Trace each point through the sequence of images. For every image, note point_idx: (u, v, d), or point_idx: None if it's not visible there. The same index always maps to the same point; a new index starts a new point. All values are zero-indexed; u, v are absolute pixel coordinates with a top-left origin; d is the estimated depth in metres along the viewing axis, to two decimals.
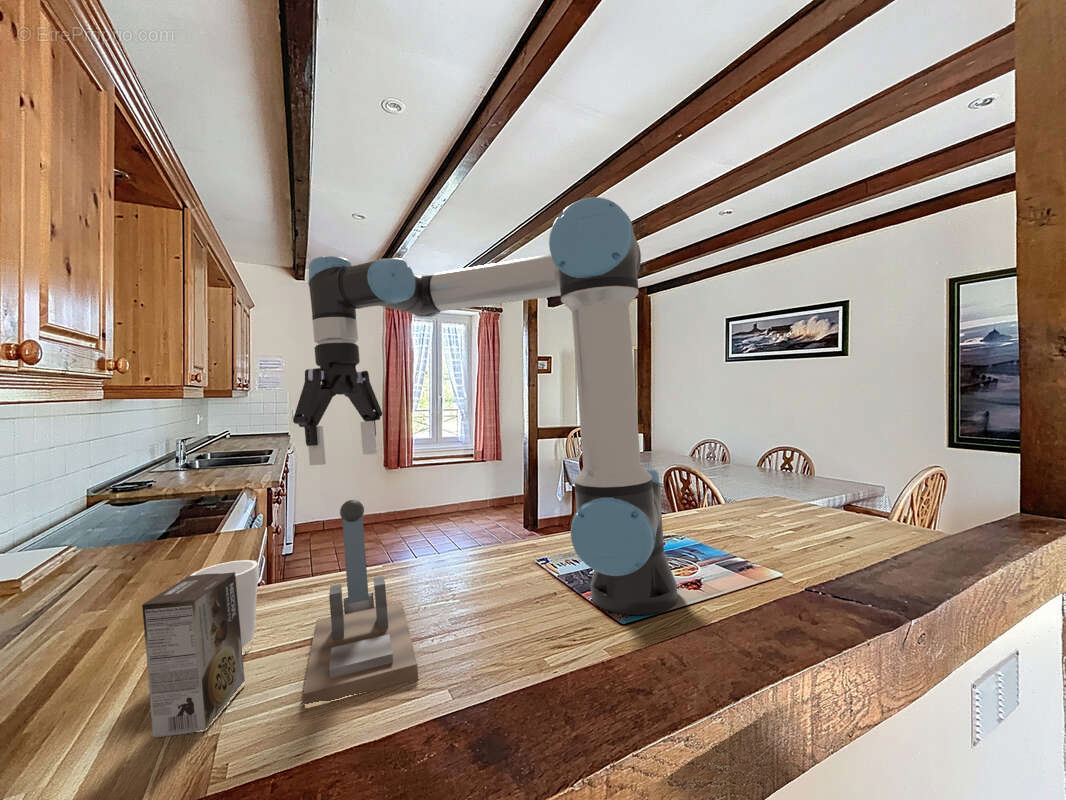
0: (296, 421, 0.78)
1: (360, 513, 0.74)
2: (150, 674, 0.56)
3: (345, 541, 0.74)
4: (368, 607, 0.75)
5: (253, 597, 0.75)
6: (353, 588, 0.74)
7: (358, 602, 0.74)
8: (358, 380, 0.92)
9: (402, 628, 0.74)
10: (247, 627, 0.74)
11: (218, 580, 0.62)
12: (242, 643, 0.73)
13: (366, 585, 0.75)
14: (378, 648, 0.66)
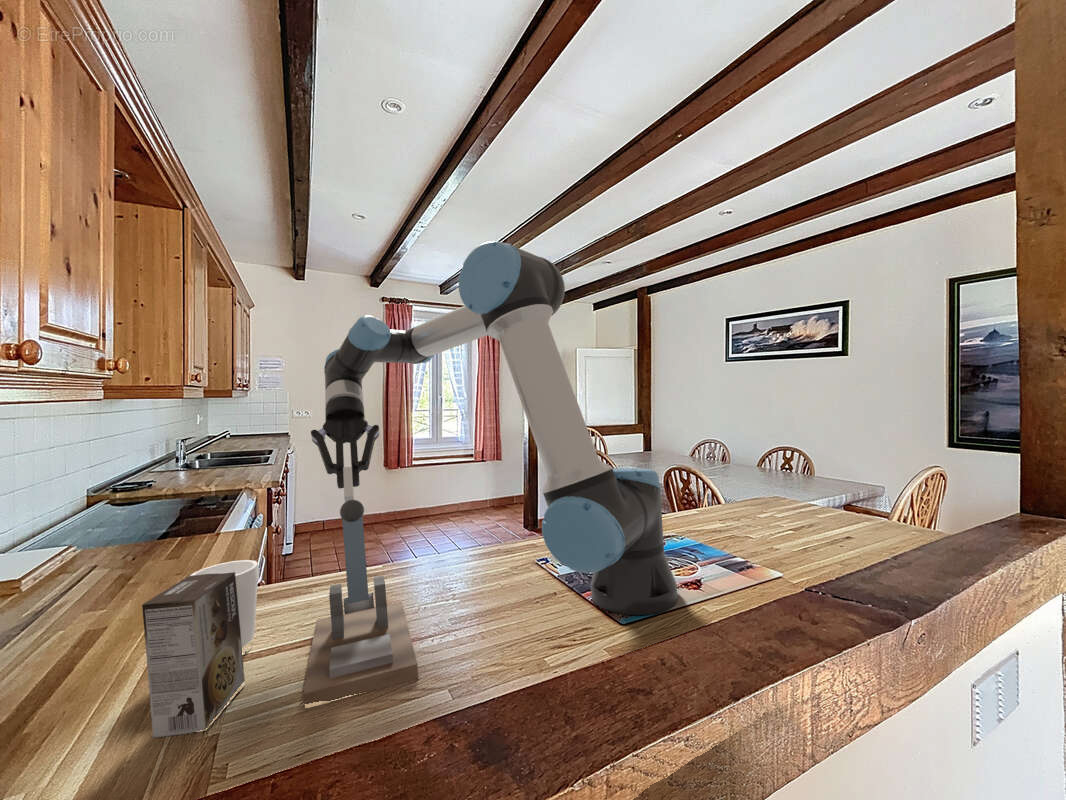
0: (327, 471, 0.88)
1: (360, 513, 0.74)
2: (149, 674, 0.56)
3: (345, 541, 0.74)
4: (368, 607, 0.75)
5: (253, 597, 0.75)
6: (353, 588, 0.74)
7: (358, 602, 0.74)
8: None
9: (402, 628, 0.74)
10: (247, 627, 0.74)
11: (218, 580, 0.62)
12: (242, 643, 0.73)
13: (366, 585, 0.75)
14: (378, 648, 0.66)
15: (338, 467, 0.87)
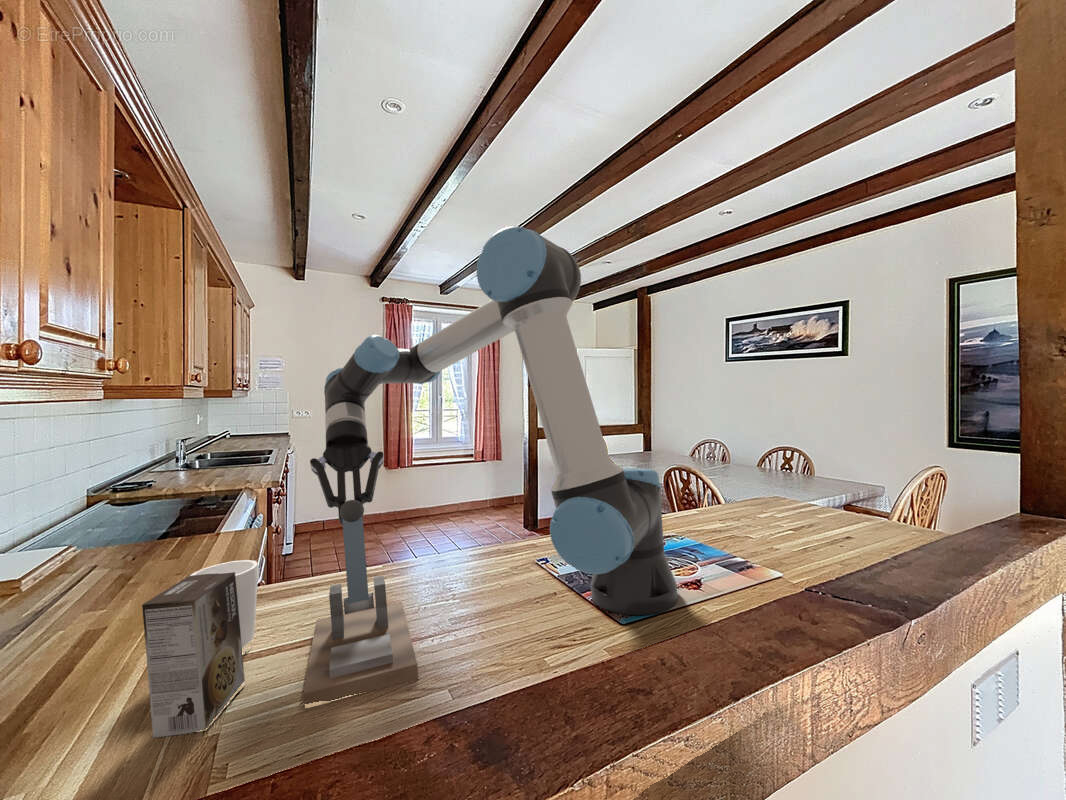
0: (327, 504, 0.81)
1: (360, 513, 0.74)
2: (149, 674, 0.56)
3: (345, 541, 0.74)
4: (368, 607, 0.75)
5: (253, 597, 0.75)
6: (353, 588, 0.74)
7: (358, 602, 0.74)
8: None
9: (402, 628, 0.74)
10: (247, 627, 0.74)
11: (218, 580, 0.62)
12: (242, 643, 0.73)
13: (366, 585, 0.75)
14: (378, 648, 0.66)
15: (340, 500, 0.80)
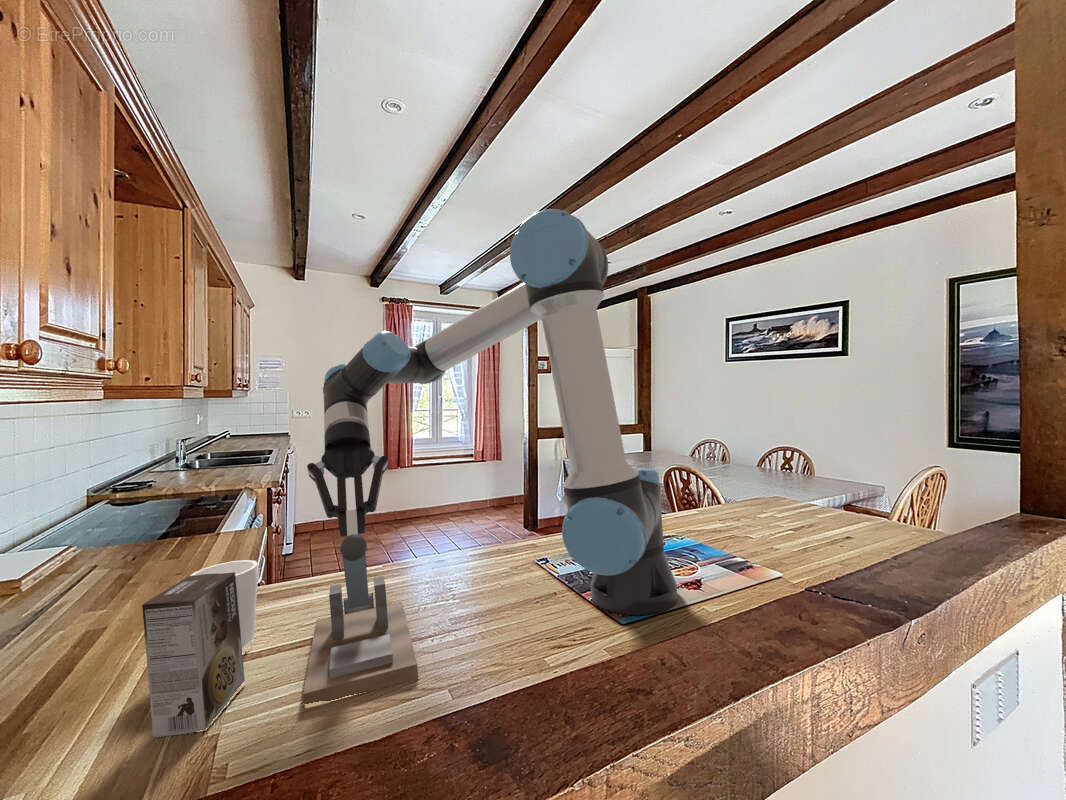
0: (326, 514, 0.73)
1: (362, 555, 0.66)
2: (149, 674, 0.56)
3: (346, 573, 0.68)
4: None
5: (253, 597, 0.75)
6: (354, 600, 0.73)
7: (358, 607, 0.74)
8: None
9: (402, 628, 0.74)
10: (247, 627, 0.74)
11: (218, 580, 0.62)
12: (242, 643, 0.73)
13: (367, 597, 0.73)
14: (378, 648, 0.66)
15: (340, 510, 0.73)
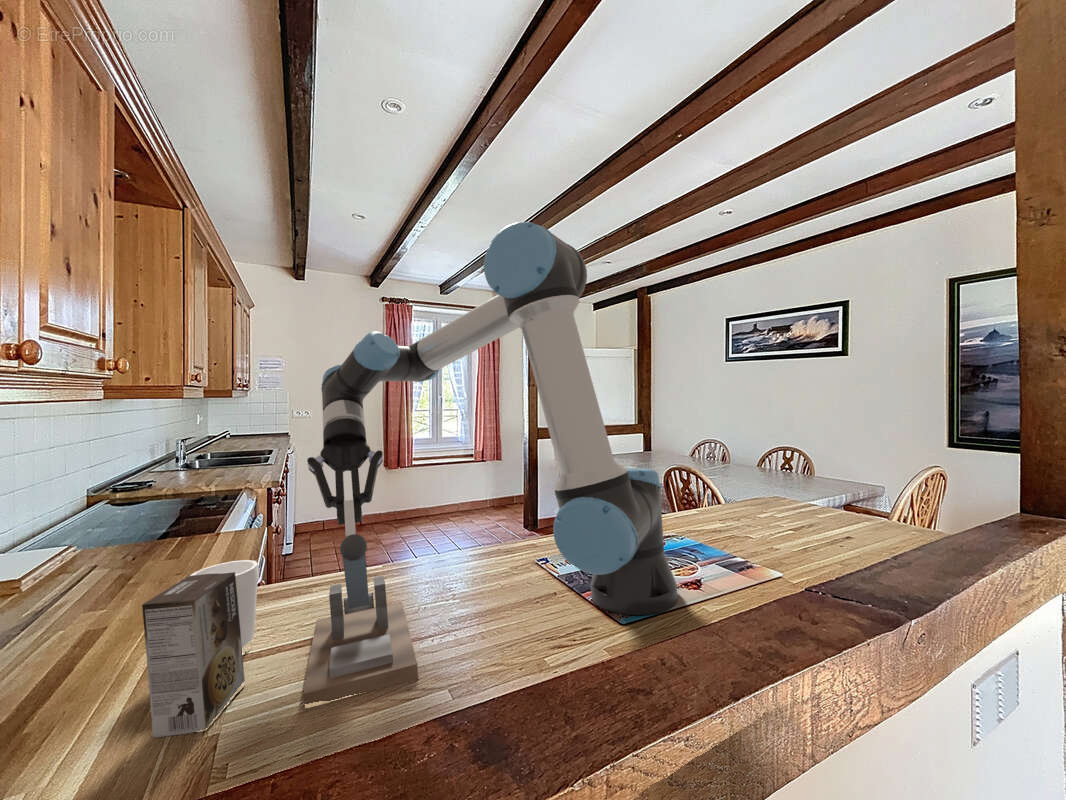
0: (325, 504, 0.79)
1: (362, 555, 0.66)
2: (149, 674, 0.56)
3: (346, 573, 0.68)
4: None
5: (253, 597, 0.75)
6: (354, 600, 0.73)
7: (358, 607, 0.74)
8: (369, 458, 0.87)
9: (402, 628, 0.74)
10: (247, 627, 0.74)
11: (218, 580, 0.62)
12: (242, 643, 0.73)
13: (367, 597, 0.73)
14: (378, 648, 0.66)
15: (338, 500, 0.78)
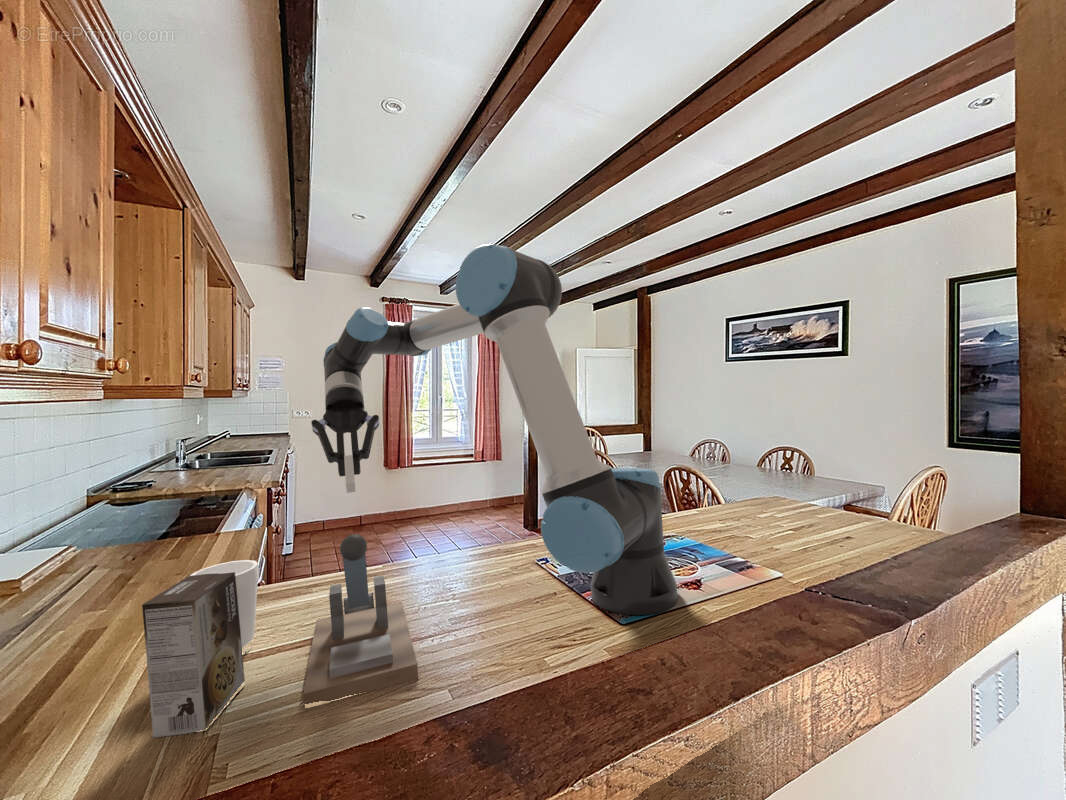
0: (328, 460, 0.89)
1: (362, 555, 0.66)
2: (149, 674, 0.56)
3: (346, 573, 0.68)
4: None
5: (253, 597, 0.75)
6: (354, 600, 0.73)
7: (358, 607, 0.74)
8: (366, 421, 0.97)
9: (402, 628, 0.74)
10: (247, 627, 0.74)
11: (218, 580, 0.62)
12: (242, 643, 0.73)
13: (367, 597, 0.73)
14: (378, 648, 0.66)
15: (339, 455, 0.88)
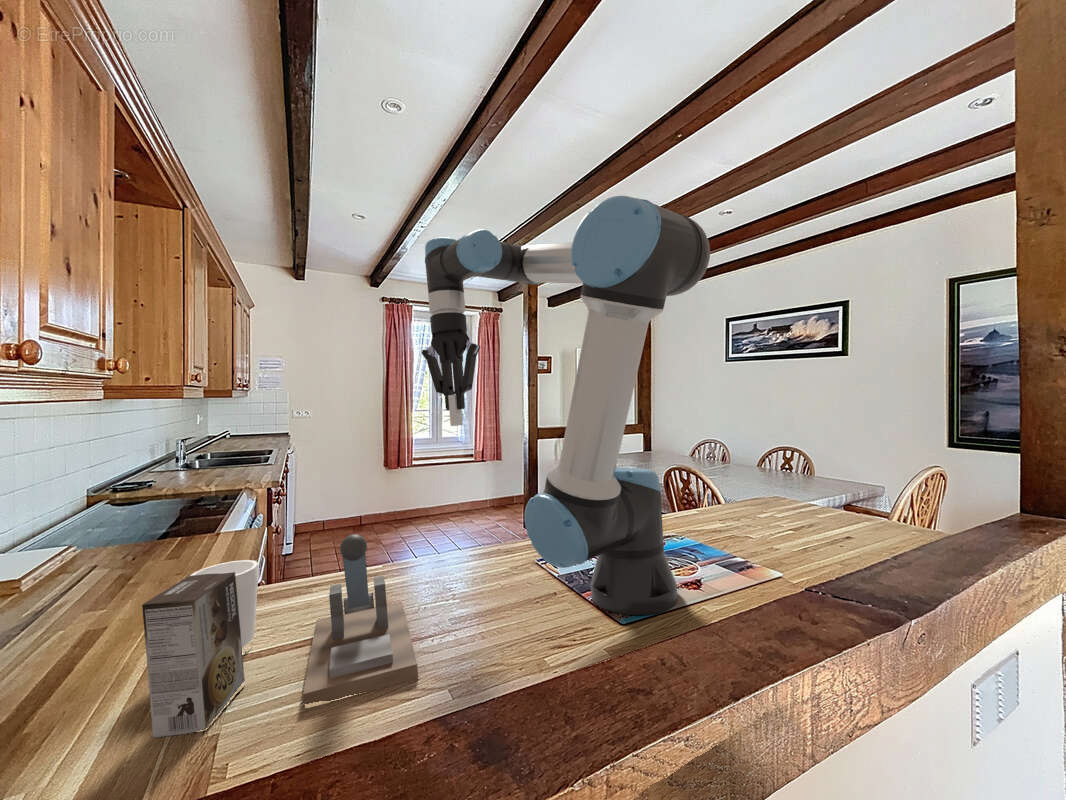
0: None
1: (362, 555, 0.66)
2: (150, 674, 0.56)
3: (346, 573, 0.68)
4: None
5: (254, 597, 0.75)
6: (354, 600, 0.73)
7: (358, 607, 0.74)
8: None
9: (402, 628, 0.74)
10: (247, 627, 0.74)
11: (218, 580, 0.62)
12: (242, 643, 0.73)
13: (367, 597, 0.73)
14: (378, 648, 0.66)
15: (445, 394, 0.99)
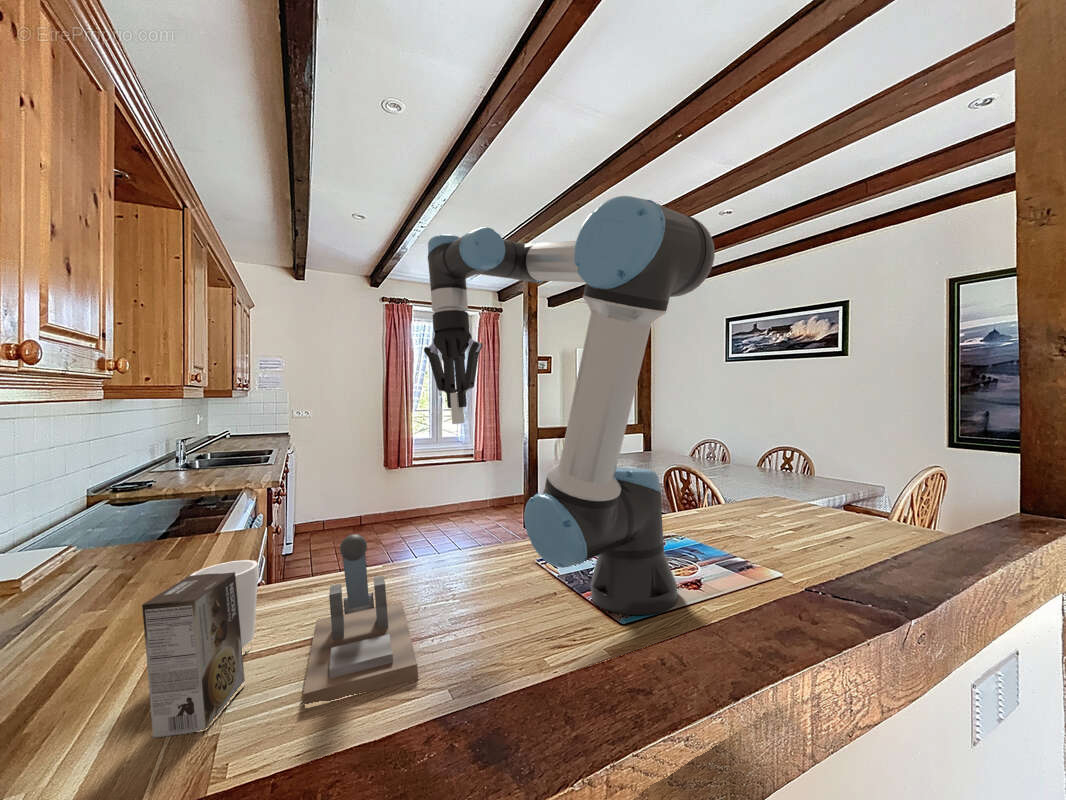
0: None
1: (362, 555, 0.66)
2: (150, 674, 0.56)
3: (346, 573, 0.68)
4: None
5: (253, 597, 0.75)
6: (354, 600, 0.73)
7: (358, 607, 0.74)
8: None
9: (402, 628, 0.74)
10: (247, 627, 0.74)
11: (218, 580, 0.62)
12: (242, 643, 0.73)
13: (367, 597, 0.73)
14: (378, 648, 0.66)
15: (446, 392, 0.99)
